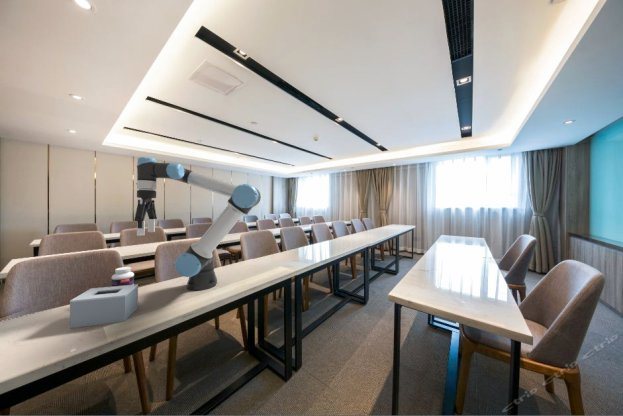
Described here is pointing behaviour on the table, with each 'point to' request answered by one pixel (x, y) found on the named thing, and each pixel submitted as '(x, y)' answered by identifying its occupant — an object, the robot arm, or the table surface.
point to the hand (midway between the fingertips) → (146, 233)
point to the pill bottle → (122, 277)
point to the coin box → (103, 305)
